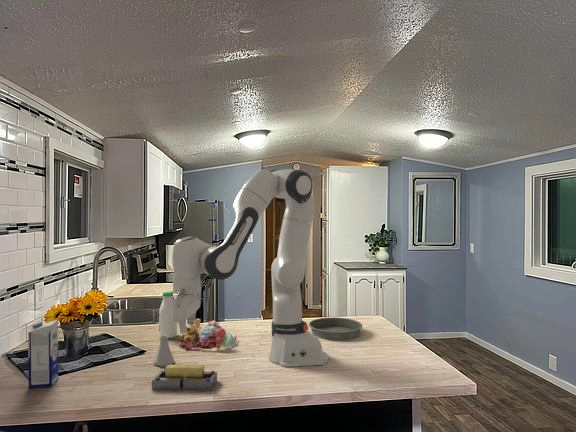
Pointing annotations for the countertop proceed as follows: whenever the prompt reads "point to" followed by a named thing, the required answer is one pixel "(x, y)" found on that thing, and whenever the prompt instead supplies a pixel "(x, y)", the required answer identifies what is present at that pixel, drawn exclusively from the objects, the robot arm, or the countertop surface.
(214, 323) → the candy landscape model
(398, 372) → the countertop surface
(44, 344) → the milk carton
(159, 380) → the link
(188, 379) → the grey forked link
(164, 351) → the flask
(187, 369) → the tall mustard post
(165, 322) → the milk bottle
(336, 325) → the cake pan
